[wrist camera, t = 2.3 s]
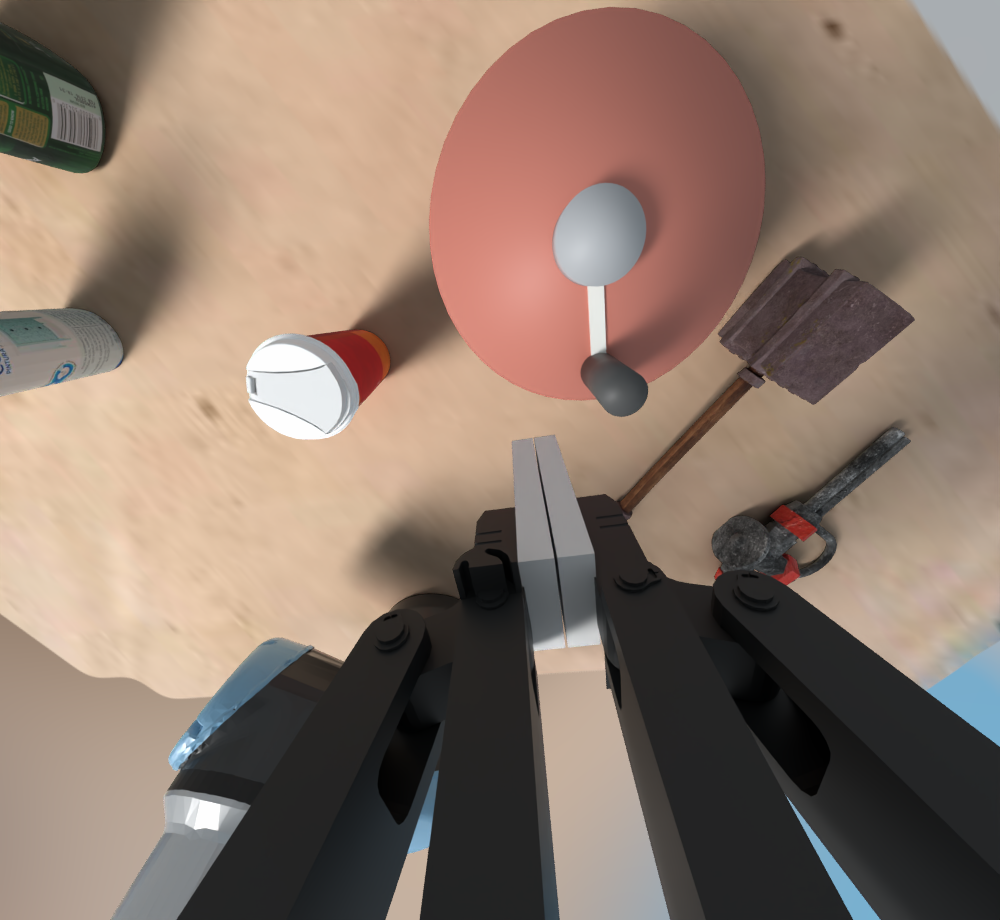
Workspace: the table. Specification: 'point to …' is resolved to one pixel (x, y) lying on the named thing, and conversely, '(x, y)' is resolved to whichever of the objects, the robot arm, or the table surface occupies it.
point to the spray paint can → (54, 347)
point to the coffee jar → (47, 107)
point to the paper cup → (314, 380)
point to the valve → (797, 521)
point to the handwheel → (597, 205)
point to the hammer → (793, 344)
